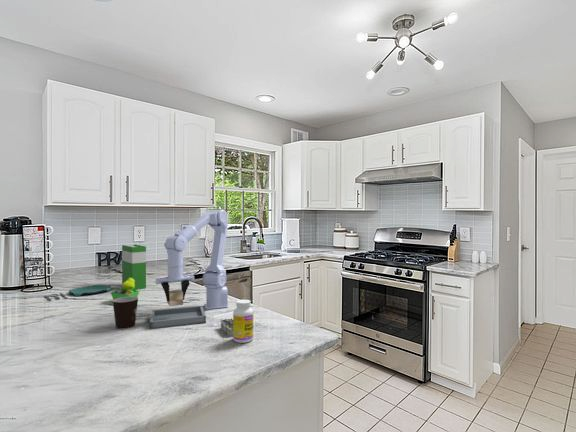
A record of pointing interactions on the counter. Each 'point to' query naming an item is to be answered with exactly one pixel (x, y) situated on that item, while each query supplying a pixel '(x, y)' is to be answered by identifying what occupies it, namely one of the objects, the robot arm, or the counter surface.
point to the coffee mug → (125, 311)
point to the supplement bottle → (243, 322)
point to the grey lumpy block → (227, 326)
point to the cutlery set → (84, 291)
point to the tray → (177, 317)
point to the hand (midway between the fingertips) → (175, 300)
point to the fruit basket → (126, 290)
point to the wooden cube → (175, 298)
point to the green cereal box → (134, 265)
